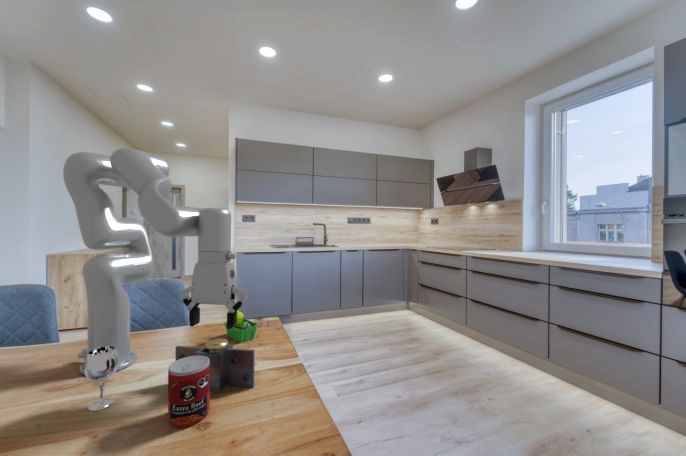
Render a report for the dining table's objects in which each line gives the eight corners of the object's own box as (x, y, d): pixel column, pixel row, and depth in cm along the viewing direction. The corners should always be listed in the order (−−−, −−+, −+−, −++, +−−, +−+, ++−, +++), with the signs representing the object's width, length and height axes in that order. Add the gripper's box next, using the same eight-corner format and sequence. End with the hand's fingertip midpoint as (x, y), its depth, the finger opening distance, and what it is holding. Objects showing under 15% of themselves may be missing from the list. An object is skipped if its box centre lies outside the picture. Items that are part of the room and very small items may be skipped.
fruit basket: (259, 338, 104) (259, 306, 104) (236, 346, 98) (236, 312, 98) (242, 331, 112) (242, 301, 112) (219, 337, 105) (219, 306, 105)
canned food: (165, 433, 56) (165, 375, 56) (170, 409, 64) (171, 358, 64) (209, 422, 59) (209, 368, 59) (209, 401, 67) (210, 352, 67)
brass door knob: (212, 378, 77) (212, 338, 77) (231, 379, 76) (231, 339, 76) (200, 389, 72) (200, 346, 72) (220, 390, 71) (221, 347, 71)
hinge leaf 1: (232, 378, 77) (232, 343, 77) (219, 392, 70) (219, 354, 70) (184, 375, 78) (184, 341, 78) (167, 388, 72) (167, 351, 72)
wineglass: (90, 416, 61) (90, 358, 61) (80, 407, 64) (80, 352, 64) (122, 402, 66) (122, 348, 66) (111, 394, 69) (111, 343, 69)
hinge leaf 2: (194, 390, 71) (194, 353, 71) (209, 377, 78) (209, 342, 78) (247, 394, 70) (248, 356, 70) (258, 380, 76) (258, 345, 76)
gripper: (253, 257, 77) (252, 323, 77) (191, 254, 79) (190, 319, 79) (240, 260, 69) (238, 333, 69) (171, 257, 71) (170, 328, 71)
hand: (212, 326), depth 74 cm, fingers open, 9 cm apart
